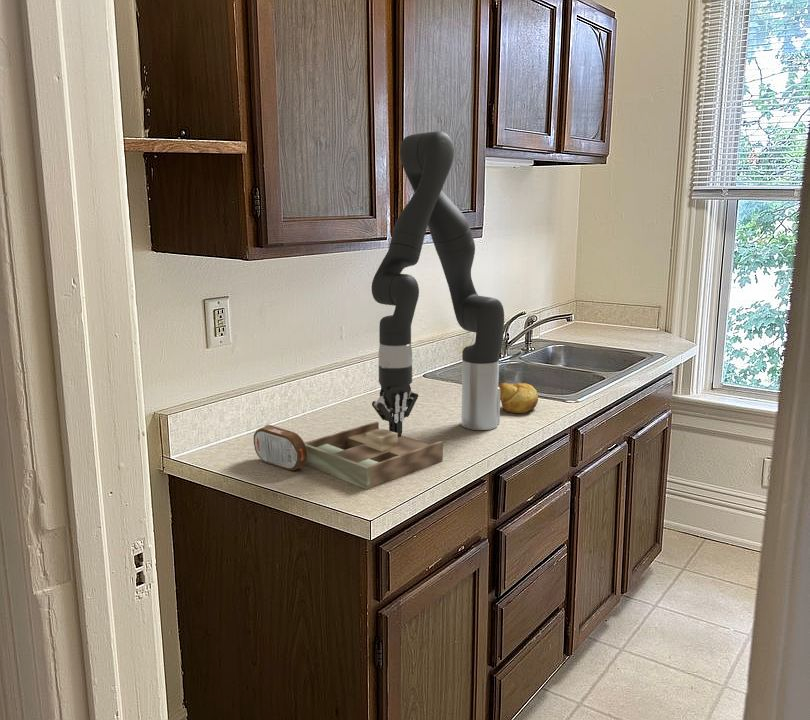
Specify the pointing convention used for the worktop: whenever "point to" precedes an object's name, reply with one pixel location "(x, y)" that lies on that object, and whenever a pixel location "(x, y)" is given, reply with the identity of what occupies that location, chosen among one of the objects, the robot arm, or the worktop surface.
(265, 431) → the tin
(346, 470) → the trap box
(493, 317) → the robot arm
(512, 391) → the bread roll
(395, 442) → the maple block
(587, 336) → the worktop surface
